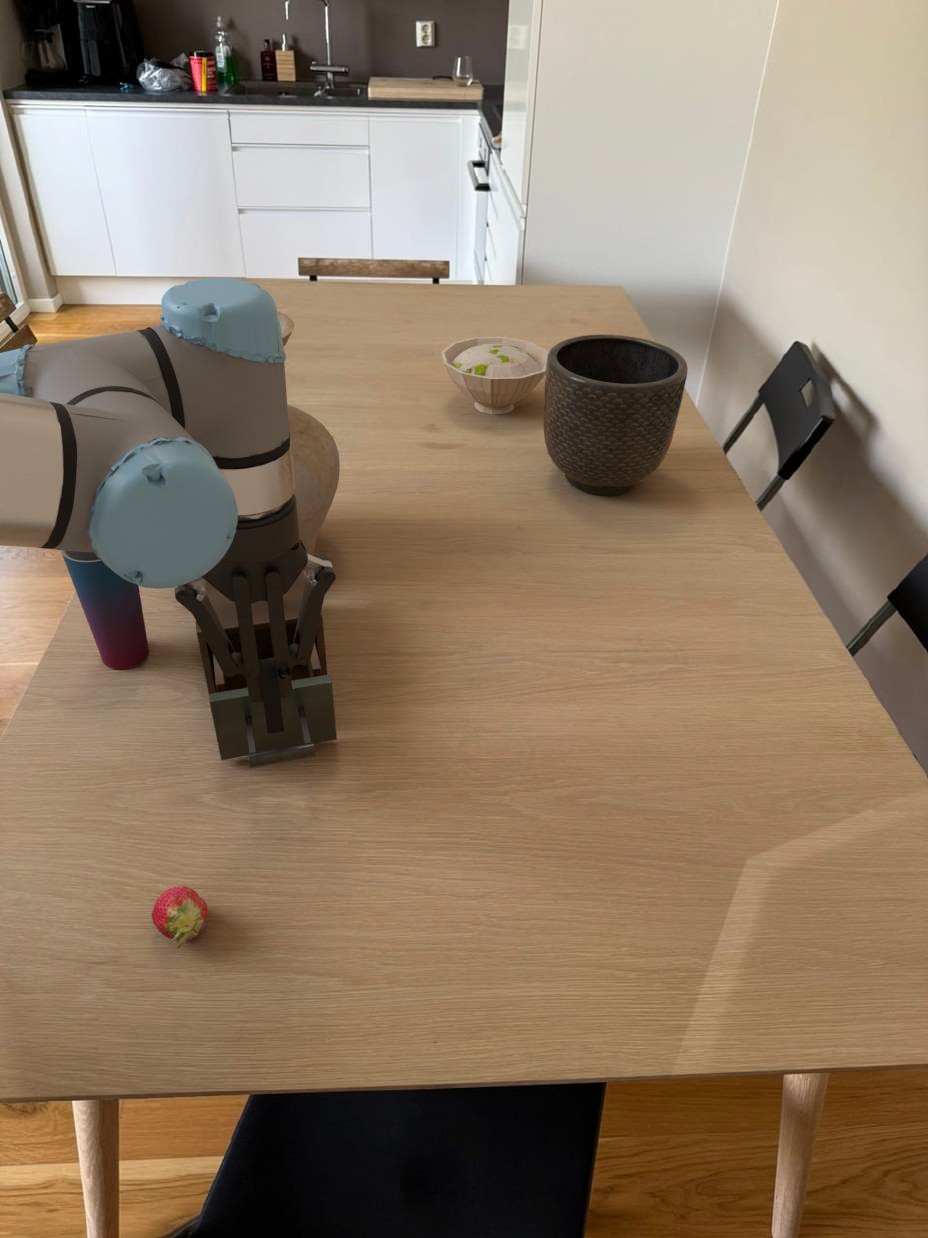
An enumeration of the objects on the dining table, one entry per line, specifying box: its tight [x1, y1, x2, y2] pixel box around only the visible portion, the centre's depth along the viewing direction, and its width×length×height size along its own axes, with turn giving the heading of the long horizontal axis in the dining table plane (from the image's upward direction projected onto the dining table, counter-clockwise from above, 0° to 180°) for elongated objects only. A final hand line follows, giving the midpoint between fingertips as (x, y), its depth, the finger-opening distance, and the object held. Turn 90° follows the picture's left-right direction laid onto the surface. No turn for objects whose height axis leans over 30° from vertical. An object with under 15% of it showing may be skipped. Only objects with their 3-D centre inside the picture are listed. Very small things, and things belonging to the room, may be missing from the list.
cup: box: [60, 550, 150, 671], centre depth 96 cm, size 7×7×15 cm
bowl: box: [440, 336, 550, 415], centre depth 153 cm, size 19×19×10 cm
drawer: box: [208, 624, 338, 770], centre depth 89 cm, size 20×11×8 cm, turn 16°
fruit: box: [150, 885, 209, 950], centre depth 72 cm, size 4×6×5 cm
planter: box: [543, 333, 689, 497], centre depth 130 cm, size 20×20×19 cm
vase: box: [277, 311, 341, 556], centre depth 109 cm, size 22×22×30 cm
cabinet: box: [195, 540, 329, 695], centre depth 99 cm, size 15×13×10 cm
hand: (274, 722), depth 82 cm, fingers closed
